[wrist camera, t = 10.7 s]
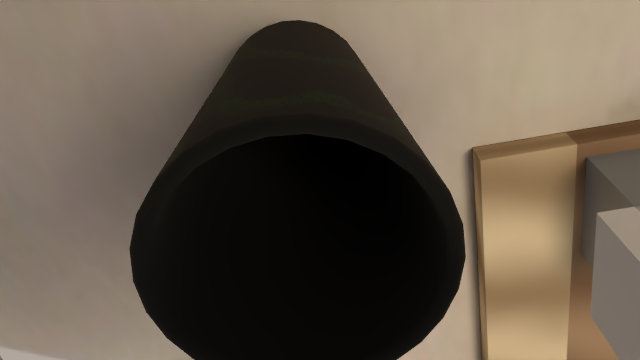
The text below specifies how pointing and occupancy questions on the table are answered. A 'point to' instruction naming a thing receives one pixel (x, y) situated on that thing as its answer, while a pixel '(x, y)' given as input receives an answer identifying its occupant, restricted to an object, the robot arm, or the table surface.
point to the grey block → (608, 191)
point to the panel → (539, 244)
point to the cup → (297, 215)
